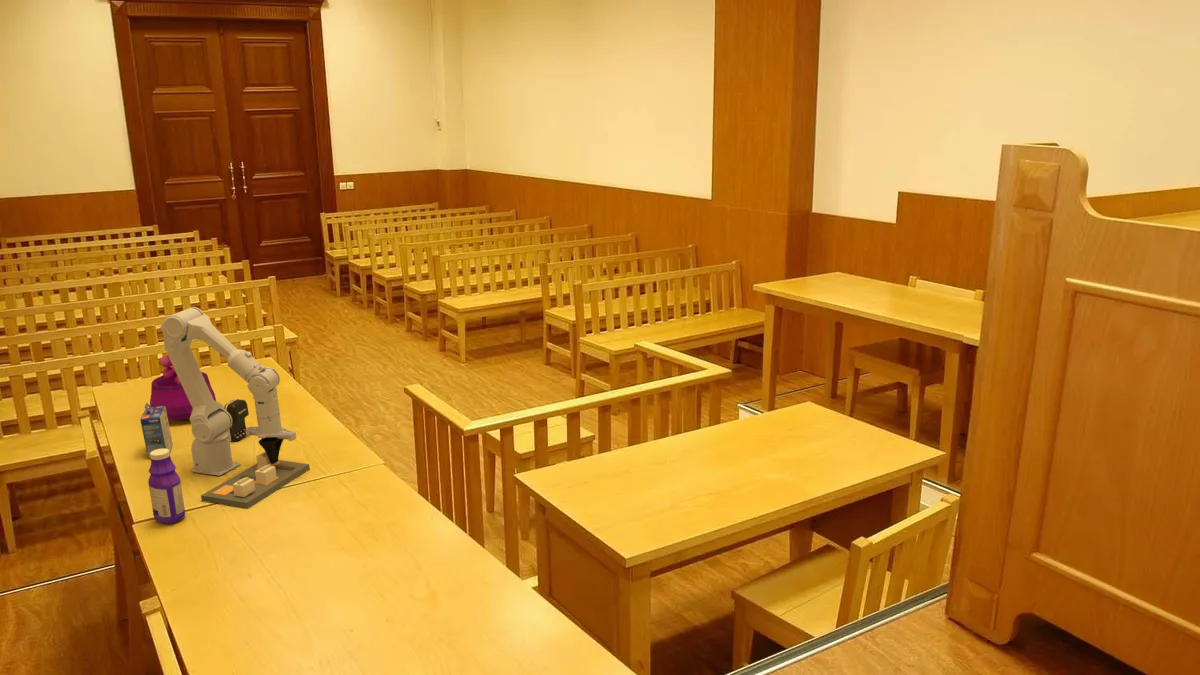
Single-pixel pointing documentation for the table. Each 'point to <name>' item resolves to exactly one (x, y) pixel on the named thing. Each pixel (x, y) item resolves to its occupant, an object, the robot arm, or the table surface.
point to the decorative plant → (172, 392)
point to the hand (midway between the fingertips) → (274, 462)
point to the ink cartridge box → (156, 429)
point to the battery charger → (237, 418)
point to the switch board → (225, 491)
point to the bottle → (165, 488)
